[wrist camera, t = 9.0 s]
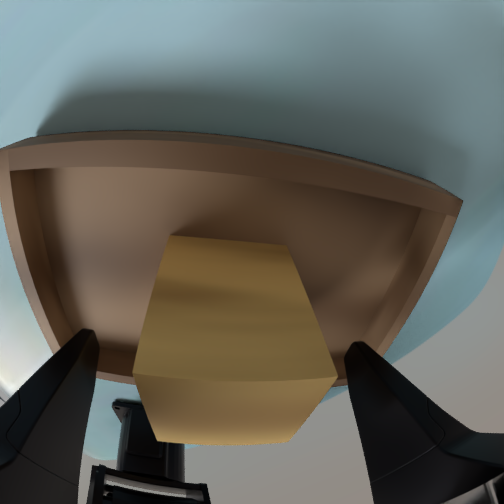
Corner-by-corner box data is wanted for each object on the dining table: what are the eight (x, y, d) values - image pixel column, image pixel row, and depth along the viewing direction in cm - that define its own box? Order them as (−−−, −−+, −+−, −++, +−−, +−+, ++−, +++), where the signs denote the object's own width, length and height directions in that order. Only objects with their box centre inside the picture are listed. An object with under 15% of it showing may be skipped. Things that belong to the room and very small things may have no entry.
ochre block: (265, 326, 13) (287, 441, 8) (171, 320, 12) (157, 440, 7) (286, 245, 11) (338, 376, 6) (169, 235, 10) (132, 372, 5)
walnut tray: (351, 354, 17) (363, 382, 15) (73, 340, 14) (62, 370, 12) (430, 181, 11) (463, 200, 9) (30, 137, 8) (-6, 150, 6)
